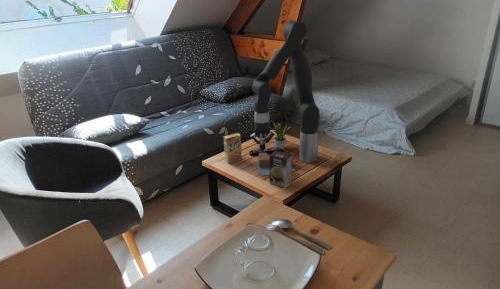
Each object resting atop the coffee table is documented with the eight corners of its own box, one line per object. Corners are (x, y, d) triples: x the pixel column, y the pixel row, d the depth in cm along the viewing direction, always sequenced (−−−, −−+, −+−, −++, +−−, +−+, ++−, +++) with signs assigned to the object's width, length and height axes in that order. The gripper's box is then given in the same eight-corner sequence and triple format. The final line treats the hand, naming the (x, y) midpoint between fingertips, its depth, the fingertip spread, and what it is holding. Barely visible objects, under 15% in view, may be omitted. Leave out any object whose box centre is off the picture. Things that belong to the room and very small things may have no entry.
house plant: (261, 147, 217) (261, 122, 210) (278, 140, 224) (278, 116, 217) (277, 155, 207) (277, 129, 200) (294, 148, 214) (295, 123, 207)
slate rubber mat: (285, 157, 204) (285, 156, 204) (295, 170, 190) (295, 169, 190) (253, 162, 200) (253, 161, 200) (261, 176, 186) (261, 175, 186)
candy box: (227, 163, 200) (226, 138, 193) (224, 160, 203) (223, 135, 196) (242, 159, 203) (240, 135, 197) (238, 156, 207) (237, 132, 200)
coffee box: (269, 183, 179) (268, 155, 172) (275, 177, 184) (275, 149, 177) (285, 188, 175) (286, 159, 168) (291, 182, 180) (291, 153, 173)
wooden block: (258, 152, 200) (291, 151, 199) (258, 159, 202) (290, 159, 201) (259, 160, 192) (292, 159, 191) (259, 167, 194) (292, 166, 193)
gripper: (271, 115, 186) (272, 145, 194) (247, 118, 183) (248, 148, 191) (276, 120, 180) (276, 151, 187) (251, 123, 177) (252, 155, 184)
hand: (262, 150), depth 189 cm, fingers closed
